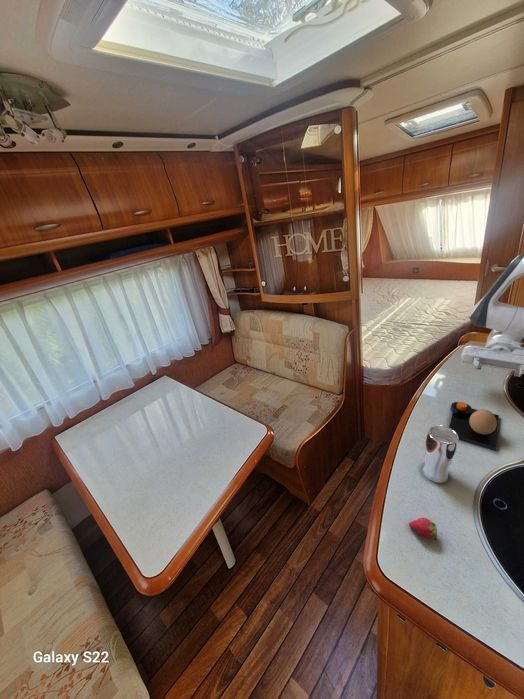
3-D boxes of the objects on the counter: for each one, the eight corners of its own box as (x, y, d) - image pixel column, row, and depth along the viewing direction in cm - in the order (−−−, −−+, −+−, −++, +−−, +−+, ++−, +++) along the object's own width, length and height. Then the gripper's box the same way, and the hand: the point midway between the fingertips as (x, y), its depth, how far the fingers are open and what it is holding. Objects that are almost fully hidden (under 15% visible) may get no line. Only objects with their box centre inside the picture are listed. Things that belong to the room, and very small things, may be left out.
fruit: (411, 517, 67) (413, 505, 65) (439, 532, 63) (442, 519, 61) (405, 532, 64) (407, 519, 62) (435, 548, 60) (438, 536, 58)
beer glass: (450, 468, 76) (460, 429, 70) (449, 488, 72) (459, 448, 65) (422, 459, 80) (428, 421, 74) (419, 478, 75) (425, 438, 69)
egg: (462, 427, 87) (467, 407, 83) (478, 422, 88) (484, 401, 84) (481, 442, 81) (487, 421, 77) (499, 435, 82) (506, 414, 78)
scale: (451, 406, 97) (452, 399, 96) (497, 418, 90) (500, 411, 88) (443, 435, 87) (445, 428, 86) (495, 451, 79) (498, 444, 78)
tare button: (456, 404, 94) (457, 400, 94) (466, 406, 93) (467, 403, 92) (455, 409, 92) (456, 405, 92) (465, 411, 91) (466, 408, 90)
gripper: (465, 338, 99) (458, 355, 90) (544, 348, 86) (546, 369, 77) (462, 353, 101) (455, 371, 93) (538, 365, 88) (539, 387, 80)
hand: (497, 370), depth 85 cm, fingers open, 8 cm apart
